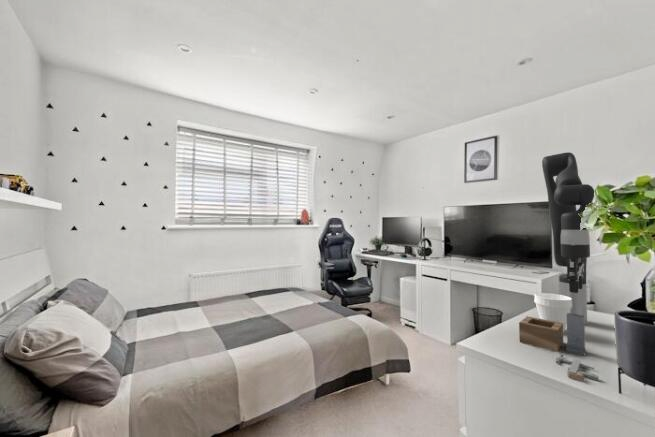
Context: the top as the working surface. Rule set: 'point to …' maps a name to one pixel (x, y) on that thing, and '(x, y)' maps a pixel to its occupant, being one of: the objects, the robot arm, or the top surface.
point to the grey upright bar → (576, 334)
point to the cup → (553, 307)
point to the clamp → (576, 369)
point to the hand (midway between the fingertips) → (576, 290)
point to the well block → (541, 333)
